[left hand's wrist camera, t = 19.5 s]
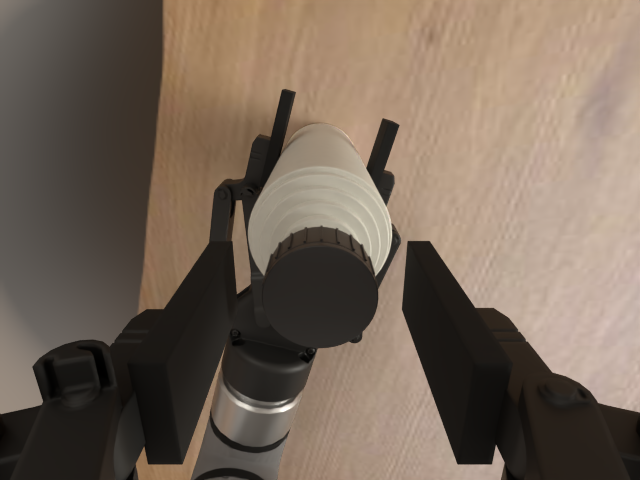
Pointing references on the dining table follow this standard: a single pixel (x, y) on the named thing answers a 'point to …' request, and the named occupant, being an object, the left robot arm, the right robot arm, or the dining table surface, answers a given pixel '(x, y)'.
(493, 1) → the dining table surface
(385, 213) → the bottle
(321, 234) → the cap
